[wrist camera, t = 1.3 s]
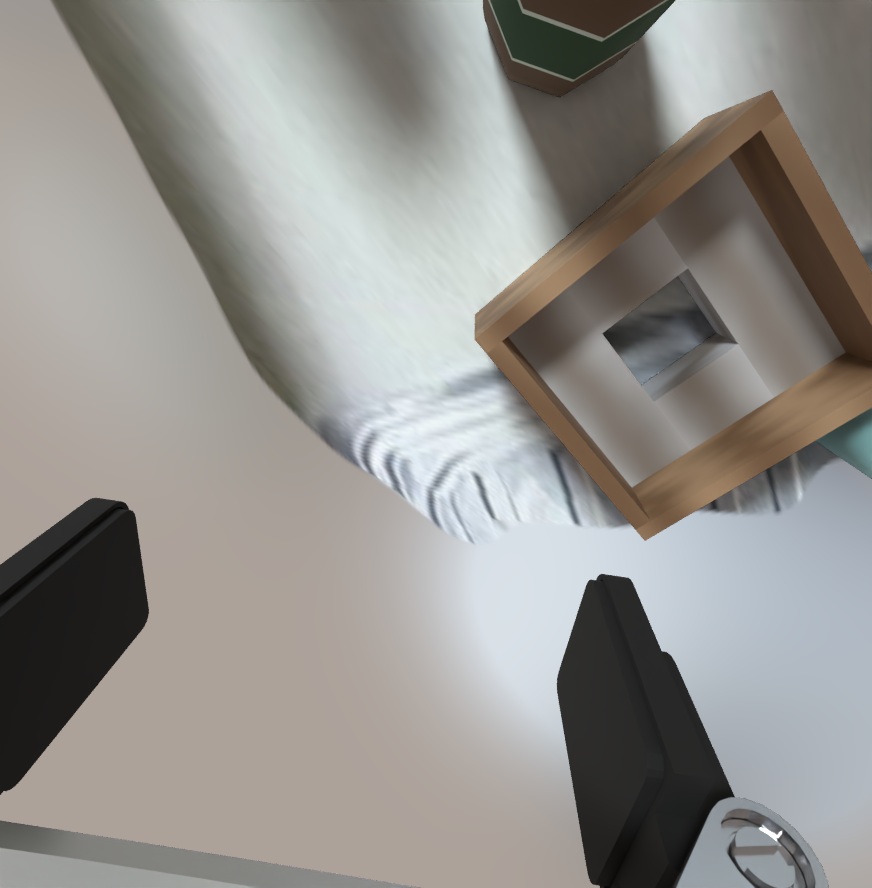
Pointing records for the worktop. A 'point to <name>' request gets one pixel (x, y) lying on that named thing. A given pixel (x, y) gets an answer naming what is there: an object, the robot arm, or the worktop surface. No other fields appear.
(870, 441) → the peg
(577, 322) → the box
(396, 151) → the worktop surface
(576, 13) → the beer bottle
